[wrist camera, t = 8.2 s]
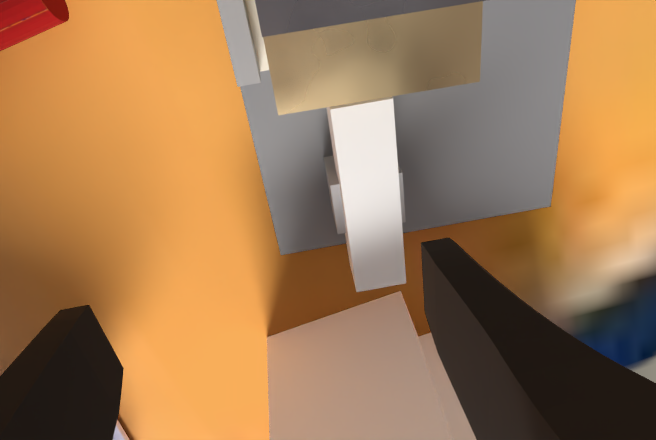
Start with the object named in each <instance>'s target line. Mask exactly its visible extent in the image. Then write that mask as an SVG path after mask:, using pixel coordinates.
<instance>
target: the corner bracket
mask: <svg viewBox="0 0 656 440" xmlns="http://www.w3.org/2000/svg"><path fill="white" fill-rule="evenodd" d="M267 363H268V398H269V433H270V440H476V437H475V435H474V433H473V431H472V428H471V426H470V424H469V422H468V420H467V417H466V415H465V413H464V411H463V408H462V406H461V404H460V402H459V400H458V397H457V395H456V393H455V391H454V388H453V386H452V384H451V382H450V380H449V377H448V375H447V373H446V371H445V368H444V366H443V364H442V361H441V359H440V357H439V355H438V352H437V349H436V346H435V343H434V340H433V337H432V334H431V333H428V334H425V335H422V336H419V337H418V335H417V332H416V329H415V327H414V324H413V322H412V319H411V316H410V314H409V311H408V309H407V306H406V303H405V301H404V298H403V296H402V293H401V291H398V292H396V293H393V294H390V295H387V296H384V297H381V298H378V299H375V300H373V301H370V302H367V303H364V304H361V305H358V306H355V307H352V308H349V309H347V310H344V311H341V312H338V313H335V314H332V315H329V316H326V317H323V318H321V319H318V320H315V321H312V322H309V323H306V324H303V325H300V326H297V327H295V328H292V329H289V330H286V331H283V332H280V333H277V334H274V335H272V336H269V337H267Z"/></svg>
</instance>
